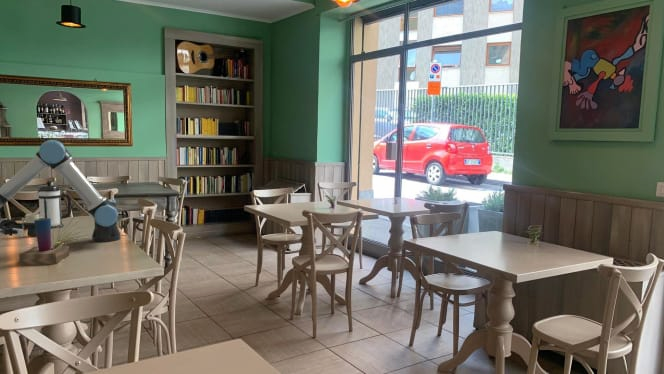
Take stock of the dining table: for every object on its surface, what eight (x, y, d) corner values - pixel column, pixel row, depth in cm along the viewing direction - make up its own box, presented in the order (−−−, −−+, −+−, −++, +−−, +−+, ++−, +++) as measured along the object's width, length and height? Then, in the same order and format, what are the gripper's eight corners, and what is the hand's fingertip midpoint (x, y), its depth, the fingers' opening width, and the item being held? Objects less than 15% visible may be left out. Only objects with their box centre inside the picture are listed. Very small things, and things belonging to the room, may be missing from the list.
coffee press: (58, 229, 320) (55, 182, 316) (33, 229, 320) (30, 182, 317) (72, 224, 337) (70, 179, 334) (48, 224, 337) (46, 179, 334)
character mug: (44, 234, 306) (43, 212, 304) (43, 236, 299) (42, 214, 298) (23, 235, 301) (21, 214, 299) (22, 238, 294) (20, 216, 293)
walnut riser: (69, 255, 254) (68, 245, 253) (56, 263, 238) (55, 253, 238) (34, 256, 252) (34, 246, 251) (19, 265, 236) (19, 254, 236)
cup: (36, 252, 240) (33, 221, 238) (37, 249, 246) (34, 218, 244) (52, 250, 243) (50, 219, 241) (53, 247, 249) (50, 217, 247)
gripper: (29, 229, 265) (59, 232, 257) (-19, 238, 241) (12, 242, 234) (28, 215, 264) (58, 218, 256) (-21, 223, 241) (11, 226, 233)
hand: (36, 229), depth 245 cm, fingers open, 13 cm apart
